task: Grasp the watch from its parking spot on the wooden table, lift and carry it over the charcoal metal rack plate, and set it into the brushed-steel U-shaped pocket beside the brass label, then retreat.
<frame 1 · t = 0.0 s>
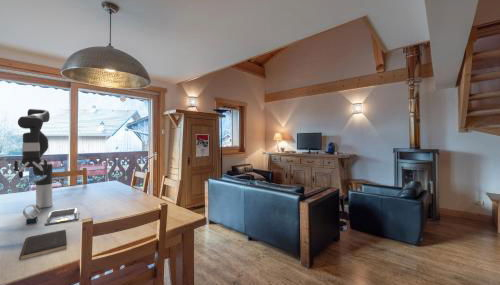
hand: (31, 177, 133), 29 cm above the table, fingers open, 8 cm apart
hardcover book: (45, 245, 111), on the table
rack: (63, 218, 146), on the table
watch: (32, 222, 139), on the table
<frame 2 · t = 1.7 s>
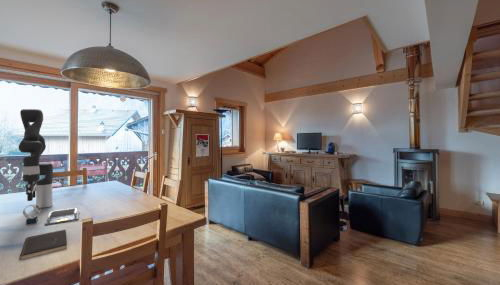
hand: (31, 199, 138), 15 cm above the table, fingers open, 8 cm apart
nothing on the table moved.
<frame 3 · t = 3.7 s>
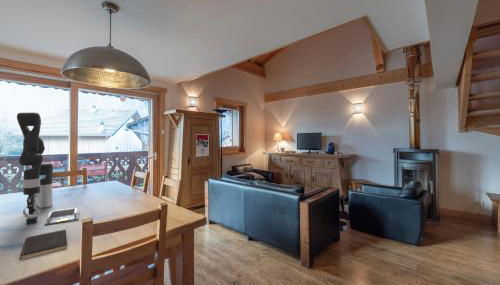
hand: (32, 213, 139), 6 cm above the table, fingers closed on watch, 4 cm apart
watch: (32, 222, 139), on the table, touching gripper
everything else where it was.
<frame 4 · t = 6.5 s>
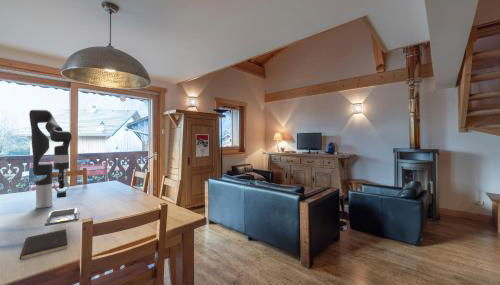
hand: (61, 187, 145), 20 cm above the table, fingers closed on watch, 4 cm apart
watch: (61, 196, 145), point 14 cm above the table, touching gripper
everything else where it was.
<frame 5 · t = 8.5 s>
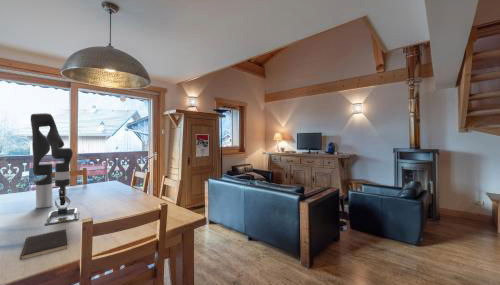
hand: (62, 204, 146), 9 cm above the table, fingers closed on watch, 4 cm apart
watch: (62, 213, 146), point 3 cm above the table, touching gripper
everything else where it was.
when the fingers open (9 cm above the table, at t = 9.8 s): watch drops 2 cm, resting on rack.
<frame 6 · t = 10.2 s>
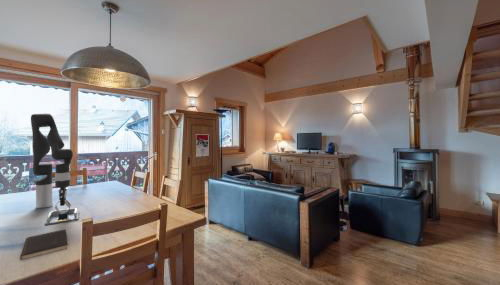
hand: (63, 203, 146), 10 cm above the table, fingers open, 8 cm apart
watch: (63, 217, 146), point 1 cm above the table, touching rack
everything else where it was.
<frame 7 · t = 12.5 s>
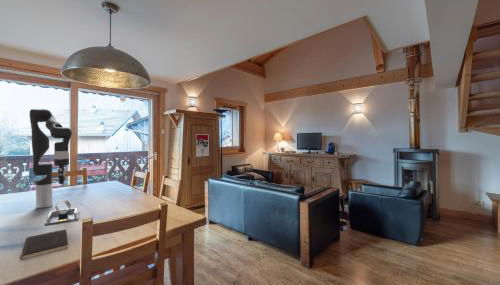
hand: (61, 182, 146), 24 cm above the table, fingers open, 8 cm apart
nothing on the table moved.
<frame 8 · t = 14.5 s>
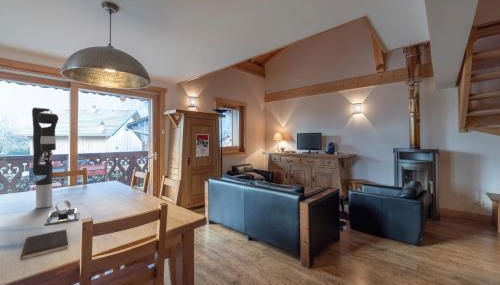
hand: (48, 167, 149), 33 cm above the table, fingers open, 8 cm apart
nothing on the table moved.
at the end: watch inside the target area on the rack (0.4 cm from its centre), point 0.8 cm above the rack's base; watch tilted 0°; the gripper is holding nothing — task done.
